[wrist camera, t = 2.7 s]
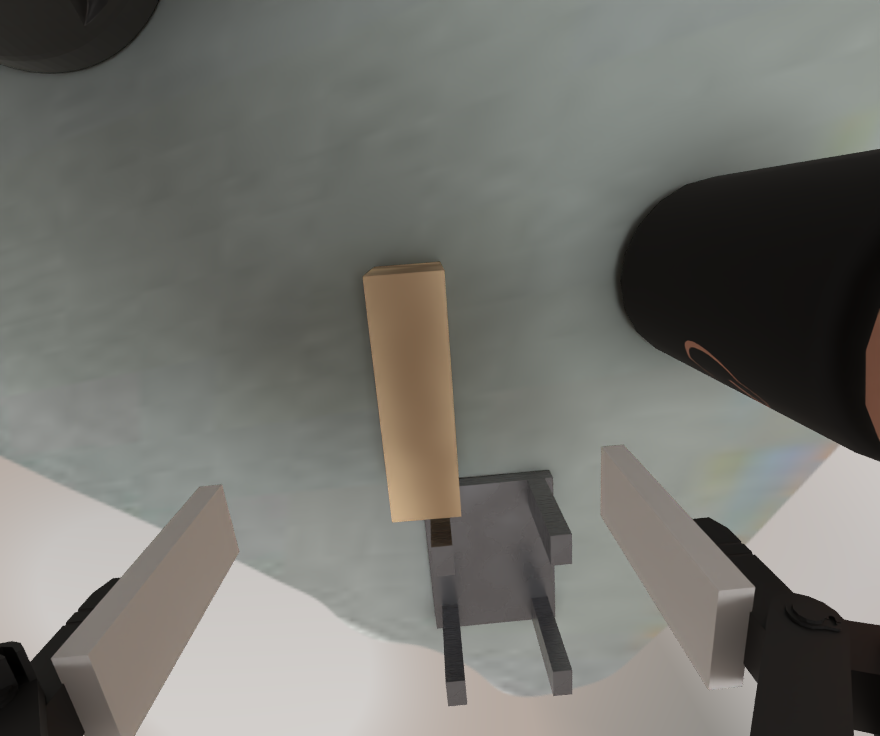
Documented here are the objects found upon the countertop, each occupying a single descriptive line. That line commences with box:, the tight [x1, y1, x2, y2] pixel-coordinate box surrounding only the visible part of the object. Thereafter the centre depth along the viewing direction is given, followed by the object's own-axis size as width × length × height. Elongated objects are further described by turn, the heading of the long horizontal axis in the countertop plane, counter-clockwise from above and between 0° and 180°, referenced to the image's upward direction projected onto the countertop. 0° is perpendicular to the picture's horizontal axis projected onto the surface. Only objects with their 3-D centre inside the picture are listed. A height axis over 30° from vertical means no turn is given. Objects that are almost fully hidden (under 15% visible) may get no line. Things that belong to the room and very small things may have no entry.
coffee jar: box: [621, 149, 880, 461], centre depth 20 cm, size 11×11×18 cm
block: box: [363, 262, 461, 522], centre depth 28 cm, size 4×14×6 cm, turn 4°
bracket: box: [425, 470, 572, 706], centre depth 31 cm, size 9×12×7 cm
